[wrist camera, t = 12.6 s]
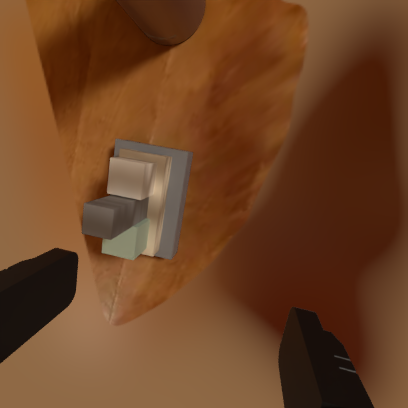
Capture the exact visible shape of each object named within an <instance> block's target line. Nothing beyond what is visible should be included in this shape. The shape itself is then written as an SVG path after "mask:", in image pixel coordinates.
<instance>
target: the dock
mask: <svg viewBox="0 0 408 408" xmlns="http://www.w3.org/2000/svg"><path fill="white" fill-rule="evenodd" d="M120 149H132V150H137V151H141V152H146V153H152V154H157V155H165V156H171V157H172V162H171V169H170V176H169V183H168V190H167V197H166V205H165V212H164V219H163V226H162V233H161V240H160V247H159V250H158V252H157V253H156V254H155V255H154V256H157V257H161V258H166V259H170V260H171V259H172V258H173V257H174V255H175V254H176V253H177V248H178V242H179V236H180V230H181V224H182V218H183V212H184V205H185V199H186V193H187V187H188V181H189V175H190V168H191V162H192V156H193V152H189V151H184V150H178V149H173V148H167V147H162V146H156V145H151V144H145V143H140V142H134V141H129V140H122V139H116V140H115V150H114V157H119V153H120ZM110 195H113V194H110Z"/></svg>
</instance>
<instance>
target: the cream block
mask: <svg viewBox="0 0 408 408" xmlns="http://www.w3.org/2000/svg"><path fill="white" fill-rule="evenodd" d="M156 171H157V163H155V162H150V161H145V160H139V159H134V158H129V157H113V158H110V166H109V176H108V187H107V193H108V194H113V195H118V196H122V197H127V198H132V199H137V200H142V199H145V198H147V197H149V196H152V195H153V193H154V186H155V178H156Z"/></svg>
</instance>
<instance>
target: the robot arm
mask: <svg viewBox="0 0 408 408" xmlns="http://www.w3.org/2000/svg"><path fill="white" fill-rule="evenodd" d="M116 1H117V2H118V3H119V4H120V6H121V7H122V8H123V9H124V10H125V11H126V13H127V14H128V15H129V16H130V17H131V18H132V20H133V21H134V22H135V23H136V24H137V25H138V27H139V28H140V29H141V30H142V31H143V32H144V34H145V35H146V36H147V37H149V38H150V39H151V40H153V41H154V42H156V43H159V44H163V45H174V44H179V43H181V42H183V41H185V40H186V39H188V38H189V37H190V36H192V34H193V33H194V32H195V31H196V30H197V28H198V27H199V25H200V23H201V21H202V18H203V15H204V11H205V0H116ZM77 270H78V255H77V254H76V253H75V252H71V251H67V250H63V249H59V248H54V249H52V250H50V251H48V252H46V253H44V254H42V255H40V256H37V257H35V258H32V259H29V260H25V261H21V262H19V263H17V264H15V265H13V266H11V267H9V268H8V269H4V270H2V271H0V363H1V362H3V361H4V360H5V359H6V358H7V357H8V356H10V355H11V354H12V353H13V352H15V351H16V350H17V349H18V348H19V347H20V346H21V345H23V344H24V343H25V342H26V341H28V340H29V339H30V338H31V337H32V336H34V335H35V334H36V333H37V332H38V331H39V330H41V329H42V328H43V327H44V326H45V325H47V324H48V323H49V322H50V321H51V320H52V319H54V318H55V317H56V316H57V315H58V314H60V313H61V312H62V311H63V310H64V309H65V308H67V307H68V306H69V304H70V303H71V302H72V300H73V298H74V295H75V292H76V282H77ZM278 360H279V361H278V363H279V372H280V379H281V386H282V392H283V400H284V407H285V408H374V406H373V404H372V402H371V400H370V398H369V396H368V394H367V392H366V390H365V388H364V386H363V384H362V382H361V380H360V378H359V376H358V374H356V370H355V368H354V366H353V364H352V362H351V361H350V358H349V356H348V354H347V352H346V350H345V348H344V346H343V344H342V343H341V342H340V341H339V340H338V339H337V338H336V337H335V336H334V335H333V334H332V333H331V332H328V331H325V330H323V328H322V325H321V323H320V321H319V319H318V316H317V314H316V313H315V312H312V311H308V310H304V309H300V308H296V307H292V308H291V309H290V312H289V315H288V319H287V322H286V326H285V330H284V333H283V337H282V341H281V344H280V349H279V359H278Z"/></svg>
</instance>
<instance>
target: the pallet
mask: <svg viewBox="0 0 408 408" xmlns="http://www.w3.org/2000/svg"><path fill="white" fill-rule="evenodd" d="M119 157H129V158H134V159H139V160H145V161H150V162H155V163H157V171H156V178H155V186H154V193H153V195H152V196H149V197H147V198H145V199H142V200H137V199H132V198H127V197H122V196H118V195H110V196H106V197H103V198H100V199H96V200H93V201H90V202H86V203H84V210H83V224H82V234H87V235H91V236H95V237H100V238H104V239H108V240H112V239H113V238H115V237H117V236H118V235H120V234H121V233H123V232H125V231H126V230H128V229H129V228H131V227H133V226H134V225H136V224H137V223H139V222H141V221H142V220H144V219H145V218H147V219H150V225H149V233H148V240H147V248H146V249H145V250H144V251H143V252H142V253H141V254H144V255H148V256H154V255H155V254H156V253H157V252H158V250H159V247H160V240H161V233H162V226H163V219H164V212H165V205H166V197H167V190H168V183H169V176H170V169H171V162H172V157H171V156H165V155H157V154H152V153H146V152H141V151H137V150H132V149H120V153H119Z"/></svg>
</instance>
